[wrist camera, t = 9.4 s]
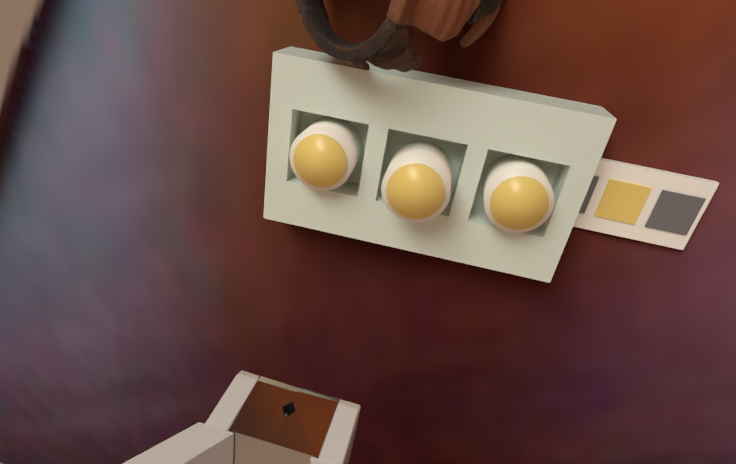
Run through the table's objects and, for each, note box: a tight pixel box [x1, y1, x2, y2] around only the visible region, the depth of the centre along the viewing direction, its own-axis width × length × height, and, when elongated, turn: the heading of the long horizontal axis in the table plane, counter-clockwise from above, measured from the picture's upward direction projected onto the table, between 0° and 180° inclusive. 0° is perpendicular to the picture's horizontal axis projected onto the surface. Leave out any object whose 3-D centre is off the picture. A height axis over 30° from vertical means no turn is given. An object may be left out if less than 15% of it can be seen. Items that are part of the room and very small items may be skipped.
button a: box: [482, 154, 554, 233], centre depth 27 cm, size 4×4×3 cm
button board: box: [263, 47, 617, 283], centre depth 28 cm, size 18×10×3 cm, turn 80°
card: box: [573, 158, 719, 250], centre depth 28 cm, size 9×4×1 cm, turn 80°
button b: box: [381, 141, 452, 223], centre depth 26 cm, size 4×4×3 cm
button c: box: [289, 116, 363, 191], centre depth 28 cm, size 4×4×3 cm
